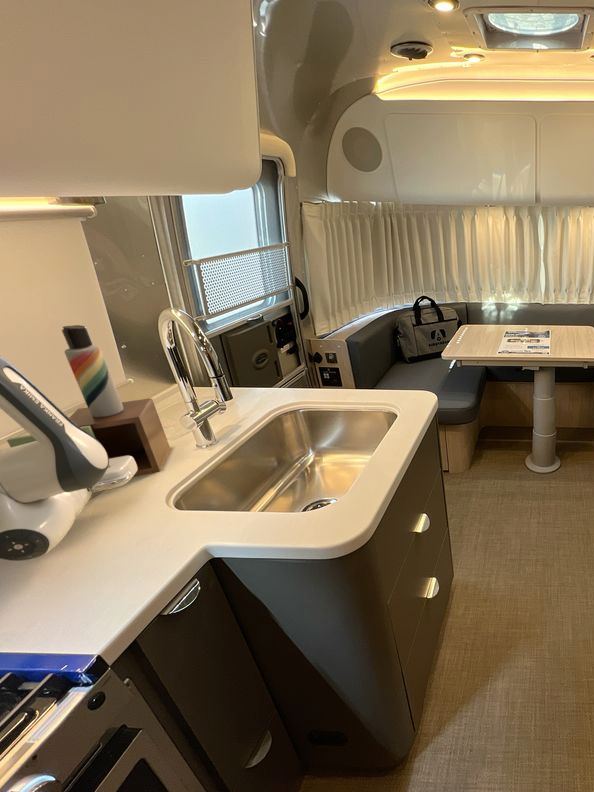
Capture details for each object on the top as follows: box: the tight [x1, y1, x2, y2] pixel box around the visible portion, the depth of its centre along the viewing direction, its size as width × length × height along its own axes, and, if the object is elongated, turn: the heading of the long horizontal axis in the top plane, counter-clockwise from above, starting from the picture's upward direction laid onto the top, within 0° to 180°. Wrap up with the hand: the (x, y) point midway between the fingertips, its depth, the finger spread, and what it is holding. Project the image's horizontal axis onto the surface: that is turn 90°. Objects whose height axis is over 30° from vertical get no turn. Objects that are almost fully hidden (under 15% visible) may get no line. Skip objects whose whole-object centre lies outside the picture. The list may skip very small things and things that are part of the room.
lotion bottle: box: [61, 324, 123, 417], centre depth 105 cm, size 6×6×20 cm
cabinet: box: [68, 397, 171, 477], centre depth 111 cm, size 14×12×14 cm
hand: (84, 461), depth 102 cm, fingers closed
